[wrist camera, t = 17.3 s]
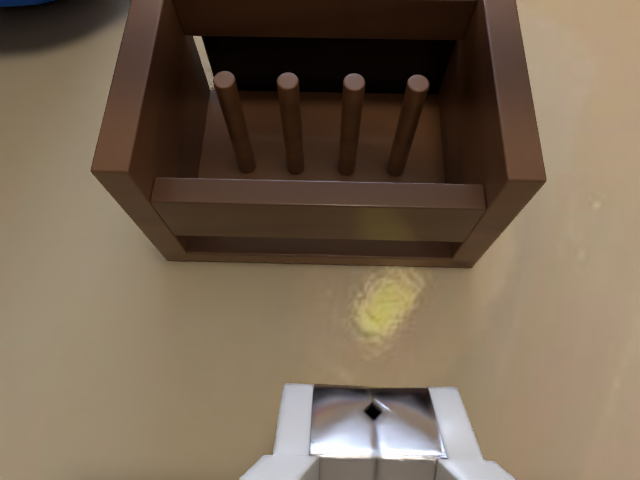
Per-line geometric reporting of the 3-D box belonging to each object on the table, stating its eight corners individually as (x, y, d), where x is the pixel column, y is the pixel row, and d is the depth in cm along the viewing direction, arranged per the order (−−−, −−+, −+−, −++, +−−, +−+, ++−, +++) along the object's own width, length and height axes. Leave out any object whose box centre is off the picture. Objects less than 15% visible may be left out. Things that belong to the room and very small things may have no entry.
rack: (472, 268, 22) (547, 181, 15) (166, 260, 22) (89, 171, 15) (456, 106, 25) (511, -31, 18) (191, 101, 26) (139, -36, 18)
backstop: (466, 106, 25) (498, 32, 21) (220, 102, 26) (198, 27, 21) (462, 61, 27) (491, -18, 22) (226, 57, 27) (206, -22, 22)
